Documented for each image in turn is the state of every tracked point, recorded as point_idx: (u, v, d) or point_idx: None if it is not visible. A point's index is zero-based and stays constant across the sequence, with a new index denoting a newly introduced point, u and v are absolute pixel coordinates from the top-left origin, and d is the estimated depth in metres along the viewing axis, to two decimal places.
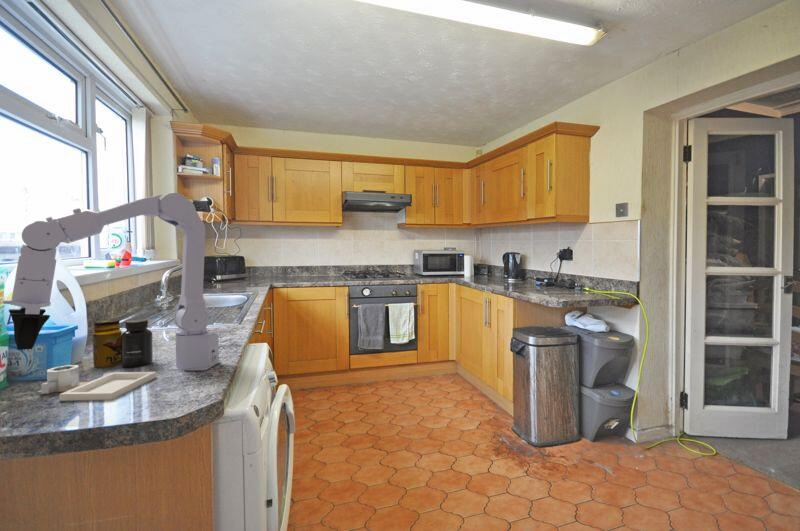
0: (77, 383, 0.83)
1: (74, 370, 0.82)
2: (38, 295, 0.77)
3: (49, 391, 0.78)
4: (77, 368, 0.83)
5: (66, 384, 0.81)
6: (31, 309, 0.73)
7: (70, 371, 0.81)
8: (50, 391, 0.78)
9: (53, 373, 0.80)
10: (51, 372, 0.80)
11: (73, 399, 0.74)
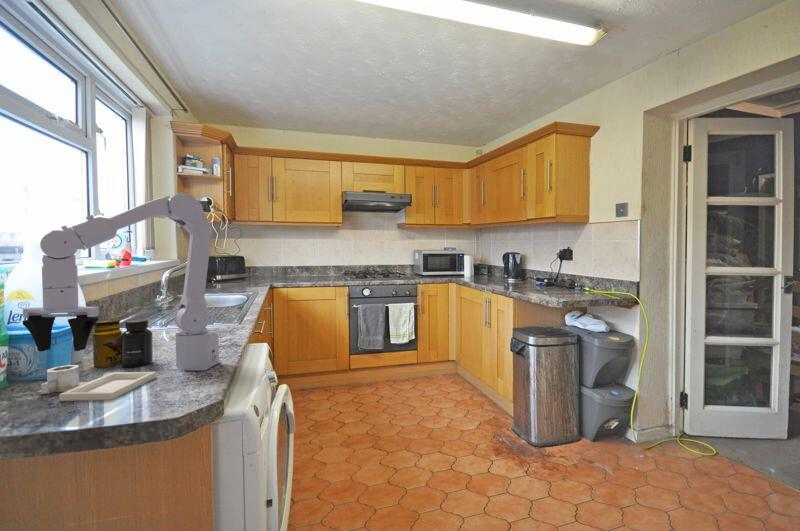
0: (77, 383, 0.83)
1: (74, 370, 0.82)
2: (76, 300, 0.83)
3: (49, 391, 0.78)
4: (77, 368, 0.83)
5: (66, 384, 0.81)
6: (94, 312, 0.82)
7: (70, 371, 0.81)
8: (50, 391, 0.78)
9: (53, 373, 0.80)
10: (51, 372, 0.80)
11: (73, 399, 0.74)
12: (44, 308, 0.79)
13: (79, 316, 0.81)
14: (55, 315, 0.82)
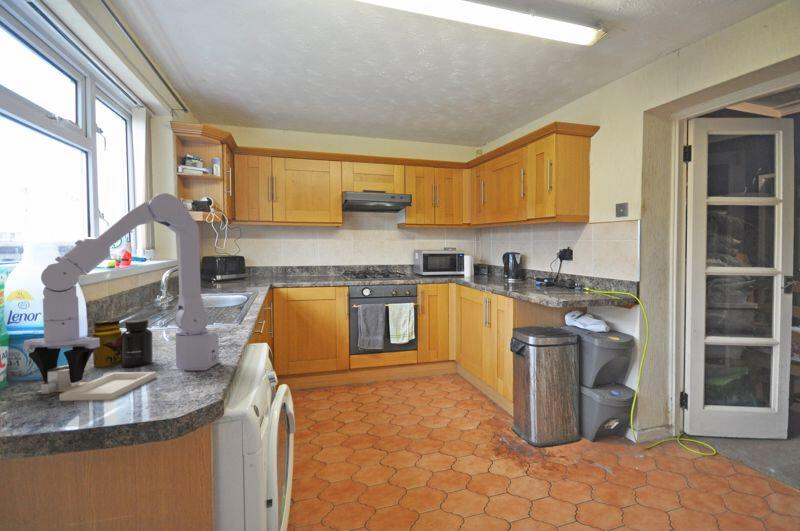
0: (77, 383, 0.83)
1: None
2: (77, 331, 0.83)
3: (49, 391, 0.78)
4: None
5: (66, 384, 0.81)
6: (95, 343, 0.82)
7: None
8: (50, 391, 0.78)
9: (53, 373, 0.80)
10: (51, 372, 0.80)
11: (73, 399, 0.74)
12: (45, 340, 0.80)
13: (80, 348, 0.81)
14: (56, 347, 0.82)
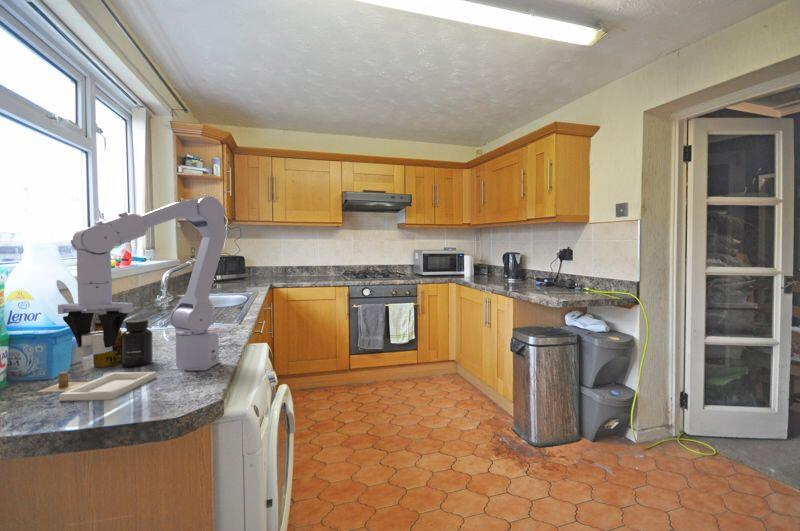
0: (110, 348, 0.82)
1: None
2: (111, 296, 0.82)
3: (84, 354, 0.77)
4: None
5: (99, 348, 0.80)
6: (129, 308, 0.81)
7: None
8: (85, 354, 0.77)
9: (87, 337, 0.79)
10: (85, 336, 0.79)
11: (73, 399, 0.74)
12: (79, 304, 0.79)
13: (114, 312, 0.80)
14: (90, 311, 0.81)
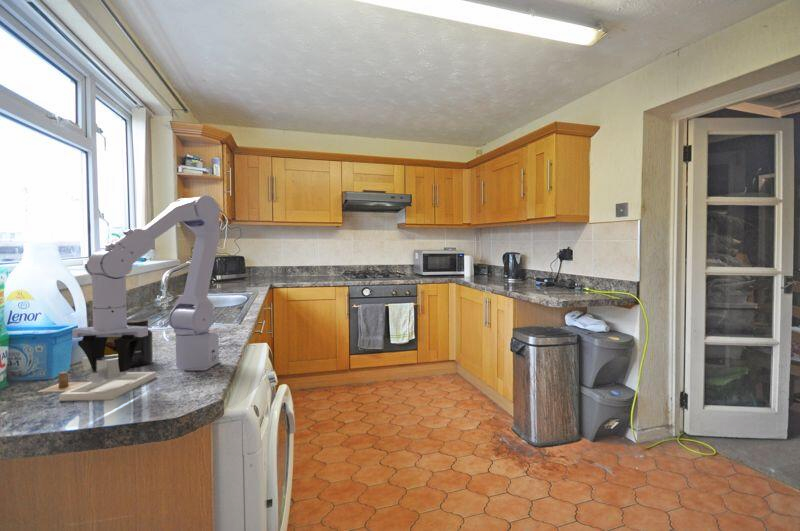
0: (125, 372, 0.81)
1: None
2: (125, 320, 0.81)
3: (99, 380, 0.77)
4: None
5: (114, 373, 0.79)
6: (144, 332, 0.81)
7: None
8: (100, 380, 0.77)
9: (102, 362, 0.78)
10: (100, 361, 0.78)
11: (73, 399, 0.74)
12: (95, 329, 0.78)
13: (129, 336, 0.80)
14: (104, 335, 0.80)
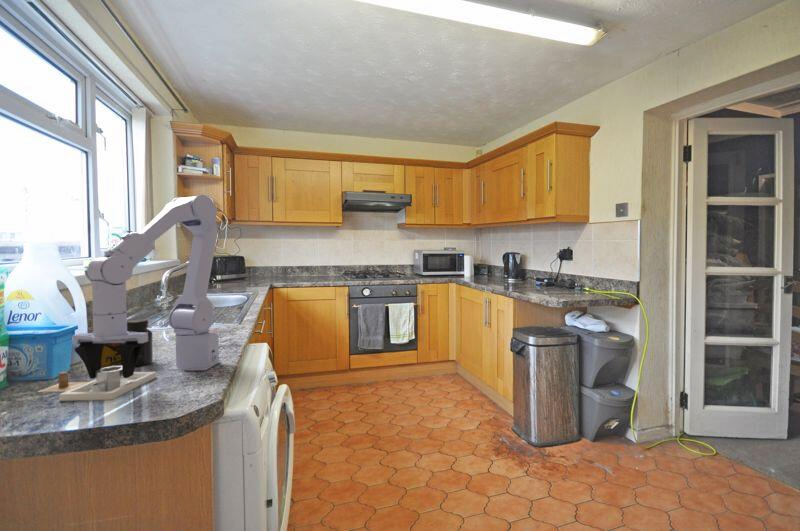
0: None
1: None
2: (126, 326, 0.82)
3: None
4: None
5: (115, 385, 0.79)
6: (144, 338, 0.81)
7: (119, 371, 0.80)
8: None
9: (103, 374, 0.78)
10: (101, 373, 0.78)
11: (73, 399, 0.74)
12: (95, 335, 0.78)
13: (129, 342, 0.80)
14: (105, 341, 0.80)
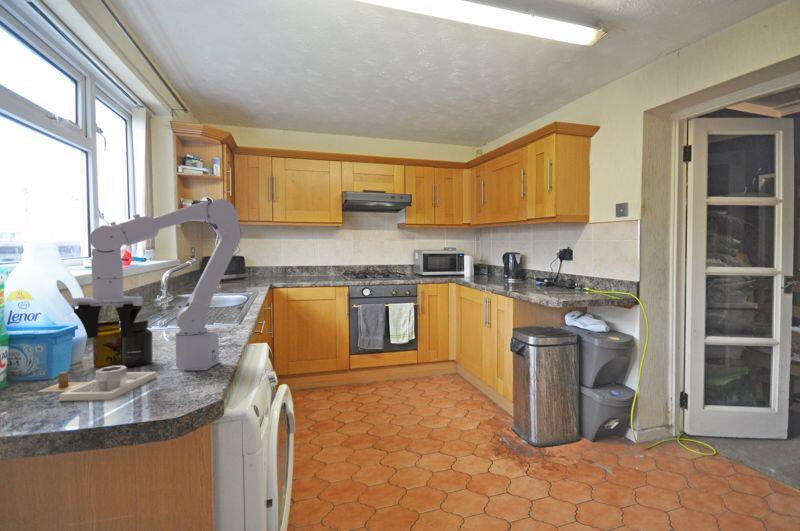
0: None
1: (123, 371, 0.81)
2: (122, 290, 0.89)
3: None
4: (125, 369, 0.82)
5: (115, 385, 0.79)
6: (139, 301, 0.88)
7: (119, 371, 0.80)
8: None
9: (103, 374, 0.78)
10: (101, 373, 0.78)
11: (73, 399, 0.74)
12: (94, 297, 0.86)
13: (125, 305, 0.88)
14: (103, 304, 0.88)
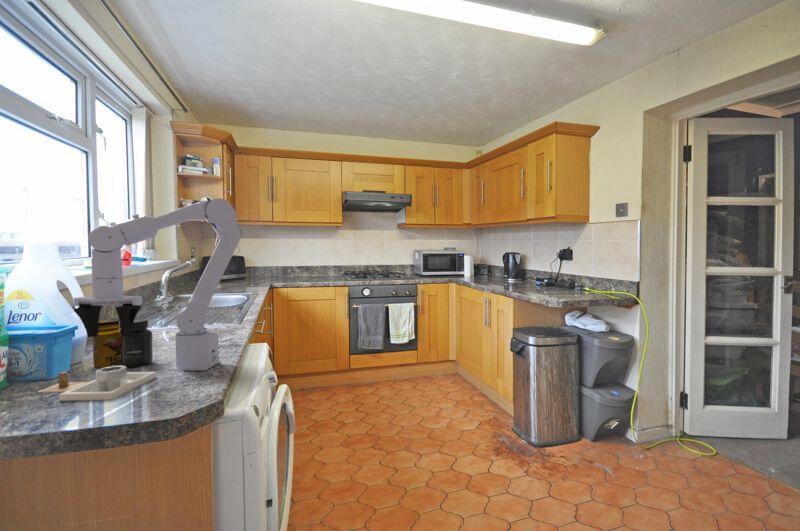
0: None
1: (123, 371, 0.81)
2: (122, 290, 0.90)
3: None
4: (125, 369, 0.82)
5: (115, 385, 0.79)
6: (138, 301, 0.89)
7: (119, 371, 0.80)
8: None
9: (103, 374, 0.78)
10: (101, 373, 0.78)
11: (73, 399, 0.74)
12: (94, 297, 0.87)
13: (125, 304, 0.89)
14: (103, 304, 0.89)
